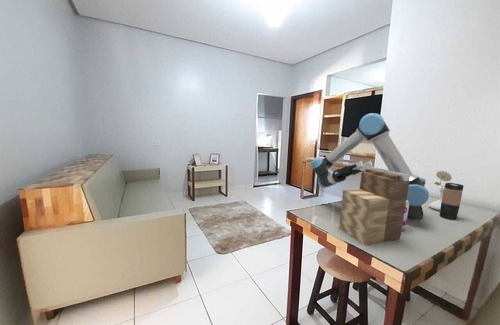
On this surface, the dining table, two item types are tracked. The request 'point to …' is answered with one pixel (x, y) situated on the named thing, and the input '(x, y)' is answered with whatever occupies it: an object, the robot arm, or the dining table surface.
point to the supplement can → (405, 215)
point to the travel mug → (451, 201)
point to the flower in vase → (443, 177)
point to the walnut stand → (374, 208)
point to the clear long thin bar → (401, 175)
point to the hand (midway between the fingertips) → (366, 163)
